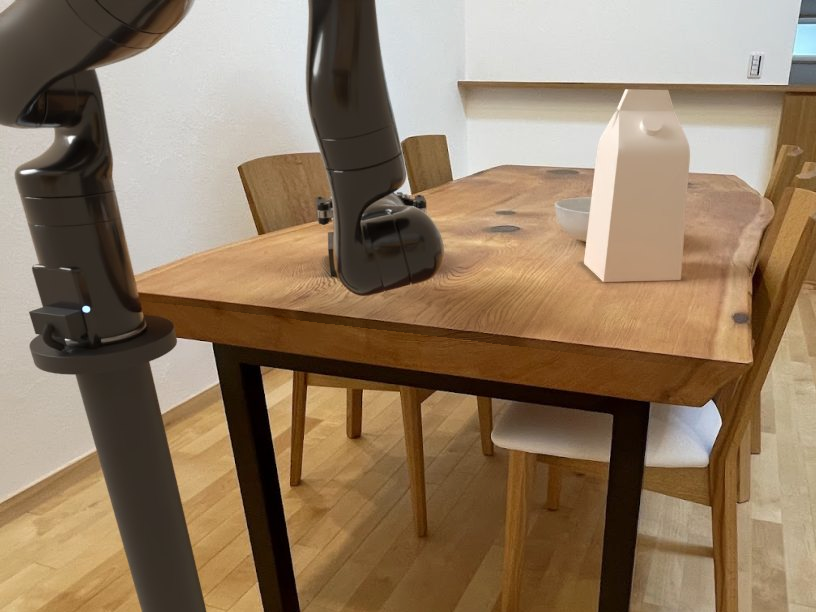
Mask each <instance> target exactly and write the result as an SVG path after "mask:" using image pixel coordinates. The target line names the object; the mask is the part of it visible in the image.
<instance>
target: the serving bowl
mask: <svg viewBox="0 0 816 612" xmlns="http://www.w3.org/2000/svg"><path fill="white" fill-rule="evenodd" d="M591 197H592V196H584V197H583V196H580V197H570V198H564V199H559V200H557V201H556V202H554V214H555V217H556V221H557V223H558V225H559V227H560V228H561V229H562V231H564V233H566V234H567V236H570V237H572V238H574V239H576V240H578V241H582V242H584V243H586V240H587V232H588V223H589V215H590V206H591Z"/></svg>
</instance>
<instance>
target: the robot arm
mask: <svg viewBox="0 0 816 612" xmlns="http://www.w3.org/2000/svg"><path fill="white" fill-rule="evenodd" d="M195 2H196V0H14V1H13V2H12V3H10V5H8V6H7V7H6V8H5V9H4V10H2V11H1V12H0V126H3V127H9V128H13V129H18V130H19V129H20V130H21V129H22V130H28V129H31V130H32V129H33V130H34V129H54V139H53V142H52V143H51V145H50V146H49V147H48V148H47V150H45V151H44V152H42V153H41V154H40V155H38V156H36V157H34V158H32V159H31V160H29V161H26V162H24V163H22V164H20V165H18V166H17V167H16V168H15V170H14V181H15V185H16V187H17V191H18V194H19V198H20V201H21V205H22V208H23V211H24V215H25V220H26V222H27V226H28V230H29V234H30V236H31V240H32V244H33V248H34V251H35V254H36V258H37V261H38V263H36V264H33V265H32V266H31V271H32V274H33V278H34V281H35V285H36V289H37V292H38V295H39V300H40V303H41V305H42V307H39V308H36V309H33V310H30V311H28V313H29V314H28V315H29V317H30V320H31V324H32V326H33V331H34V334H35V335H42V338H43V341H44V342H45V344H47V345H48V346H49V347H51V348H54V349H57V350H59V351H62V350H63V349H64V348H65V346H72V347H79V348H87V349H97V348H99V347H102V346H106V345H112V344H117V343H121V342H125V341H128V340H131V339H134V338H136V337H138V336H140V335H142V334H143V333H145V332H146V330H147V325H146V321H145V320H144V316H143V315H144V313H143V312H142V310H143V308H142V303H141V298H140V294H139V290H138V286H137V282H136V276H135V273H134V268H133V264H132V260H131V255H130V254H131V253H130V250H129V246H128V242H127V237H126V232H125V229H124V224H123V220H122V219H123V218H122V215H121V210H120V206H119V202H118V197H117V193H116V192H117V191H116V189H115V183H114V179H113V178H114V177H113V174H114V173H113V171H114V157H113V152H112V146H111V140H110V135H109V129H108V122H107V117H106V110H105V103H104V97H103V93H102V88H101V84H100V80H99V76H98V73H97V71H96V69H99V68H103V67H106V66H111V65H114V64H116V63H117V64H118V63H120V62H123V61H126V60H128V59H131V58H134V57H136V56H138V55H141V54H143V53H145V52H146V51H148V50H149V49H151V48H152V47H154V46H155V45H156V44H158V43H159V42H160V41H162V39H164V38H165V37H166V36H167V35H168V34H170V33H171V32H172V31H173V30H174V29H175V28H177V27H178V26H179V25H180V24H181V23H182V22H183V20H185V19H186V17H187V16H188V15H189V14H190V12H191V10H192V8H193V6H194V4H195ZM376 5H377V4H376V0H307V6H308V19H307V20H308V26H307V41H306V42H307V44H306V56H305V93H306V94H305V95H306V102H307V103H306V104H307V108H308V115H309V119H310V123H311V127H312V129H313V134H314V137H315V141H316V143H317V146H318V147H317V148H318V150H319V153H320V156H321V160H322V164H323V166H324V170H325V173H326V178H327V182H328V185H329V192H330V196H329V197H328V199H329V200H326V198H325V197H323V196H317V197H315V198H314V202H315V208H316V218H317V222H318V224H319V225H322V226H326V225H328V224H329V223H332V222H333V224H334V225H333V231H332V232H333V255H334V265H335V270H336V273H337V276H336V277H337V278H338V280H339V282H340V283H341V284H342V285H343V287H345V289H346V290H348V291H349V292H350V293H351V294H354V295H356V296H359V297H369V296H372V295H377V294H382V293H384V292H390V291H393V290H396V289H401V288H404V287H409V286H413V285H417V284H421V283H425V282H427V281H429V280H431V279H433V278H434V277H435V276H436V275H437V274H438V273H439V271H440V270H441V268H442V266H443V262H444V261H445V260H444V259H445V246H444V241H443V237H442V234H441V232H440V230H439V228H438V227H437V225H436V222H435V221H433V219H432V218H431V217H430V216H429V215H428V212H427V210H428V209H427V199H426V198H425V196H424V195H422V194H416V195H414V198H411V195H409V194H407V193H403V192H402V191H399V190H400V189H401V188H402V187H403V186H404V184H405V182H406V179H407V167H406V163H405V158H404V153H403V150H402V144H401V140H400V136H399V132H398V127H397V123H396V119H395V114H394V110H393V105H392V101H391V96H390V92H389V91H390V90H389V87H388V82H387V77H386V72H385V71H386V70H385V67H384V61H383V54H382V47H381V41H380V33H379V24H378V13H377V6H376ZM395 192H396V193H395Z"/></svg>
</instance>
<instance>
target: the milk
mask: <svg viewBox="0 0 816 612" xmlns="http://www.w3.org/2000/svg"><path fill="white" fill-rule="evenodd" d="M690 149H691V148H690V144H689V141H688V138H687V136H686V133H685V131H684V129H683V127H682V125H681V121H680V120H679V118H678V116H677V113H676V112H675V108H674V104H673V101H672V98H671V95H670V91H669V89H638V88H637V89H636V88H635V89H634V88H633V89H630V88H628V89H627V88H626V89H624V91H623V94H622V96H621V99H620V101H619V103H618V106H617V107H616V110H615V111H614V113H613V114H612V117H611V118H610V120H609V122H608V123H607V125H606V127H605V129H604V130H603V133H602V134H601V135H600V138H599V141H598V143H597V148H596V155H595V164H594V171H593V182H592V189H591V190H592V191H591V196H590V197H591V206H590V215H589V223H588V232H587V240H586V242H585V250H584V256H583V257H584V259H583V264H584V265H585V266H586V268H588V270H590V271H591V272H592V273H593V274H594V275H595V276H597V278H598V279H600V280H601V281H602V282H603V283H617V282H620V283H621V282H622V283H623V282H625V283H626V282H654V281H656V282H657V281H658V282H659V281H661V282H662V281H681V280H682V270H683V258H684V257H683V255H684V243H685V229H686V215H687V203H688V202H687V201H688V189H689V187H688V186H689V174H690V163H691V151H690Z"/></svg>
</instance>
